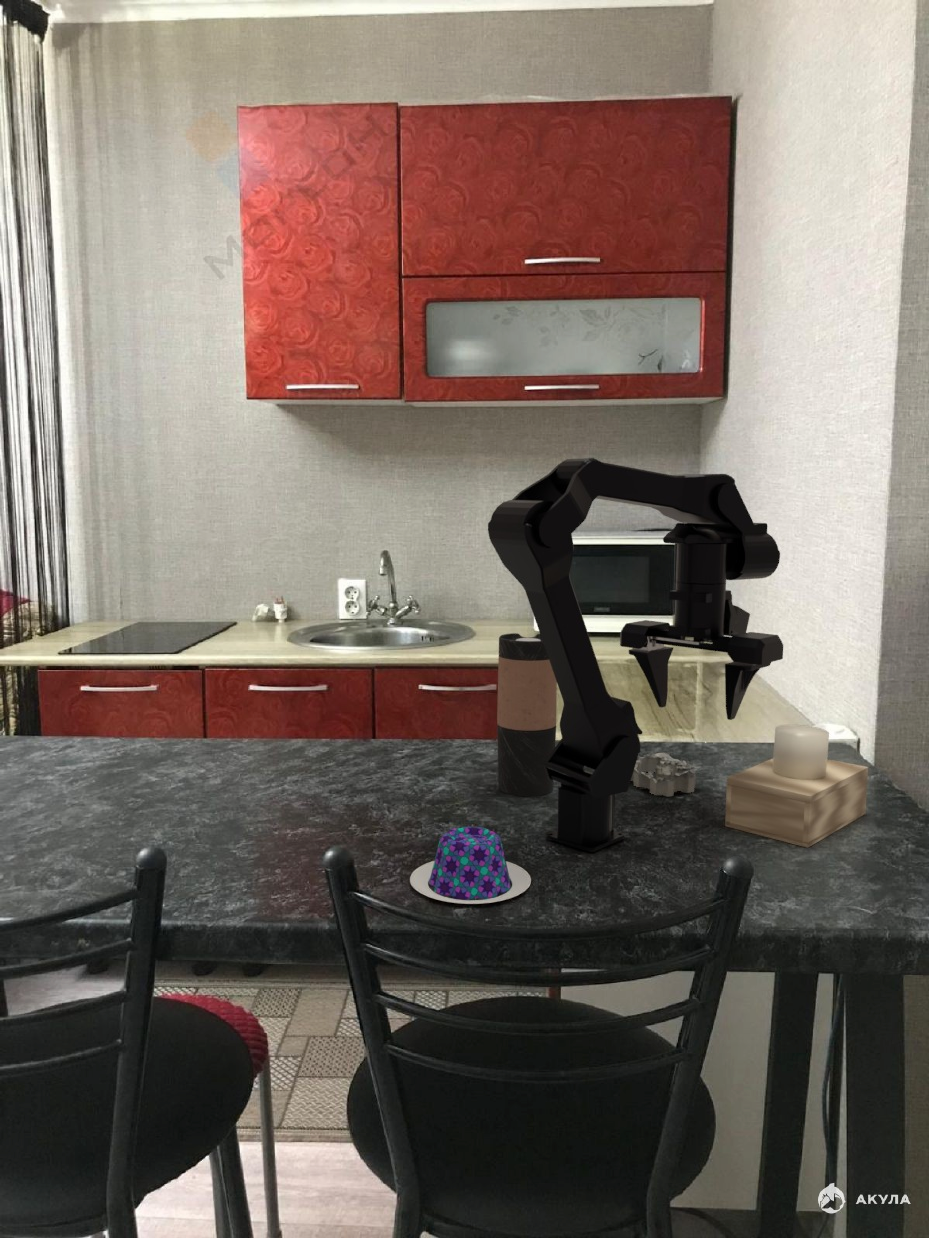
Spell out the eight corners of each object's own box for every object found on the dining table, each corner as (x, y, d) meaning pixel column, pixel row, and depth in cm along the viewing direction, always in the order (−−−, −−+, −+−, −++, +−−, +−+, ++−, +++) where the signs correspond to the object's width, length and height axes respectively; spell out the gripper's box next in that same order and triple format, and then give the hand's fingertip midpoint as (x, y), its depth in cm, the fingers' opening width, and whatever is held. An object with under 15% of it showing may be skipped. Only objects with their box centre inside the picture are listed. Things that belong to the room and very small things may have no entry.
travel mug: (525, 801, 124) (527, 643, 121) (484, 787, 130) (485, 636, 127) (567, 789, 129) (570, 637, 126) (525, 776, 135) (528, 630, 132)
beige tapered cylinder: (812, 782, 113) (815, 739, 112) (763, 771, 117) (765, 730, 116) (834, 772, 117) (837, 731, 116) (786, 762, 121) (789, 722, 120)
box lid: (810, 803, 108) (810, 796, 108) (726, 784, 115) (727, 777, 114) (867, 773, 119) (868, 767, 119) (789, 757, 126) (789, 751, 126)
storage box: (807, 847, 108) (810, 803, 108) (725, 826, 115) (726, 784, 115) (865, 813, 120) (867, 773, 119) (787, 795, 127) (789, 758, 126)
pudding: (549, 902, 94) (550, 849, 94) (428, 918, 91) (428, 863, 90) (506, 857, 106) (506, 810, 105) (396, 870, 102) (396, 821, 101)
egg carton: (611, 778, 135) (611, 749, 135) (656, 772, 138) (657, 744, 138) (656, 800, 125) (657, 768, 125) (704, 793, 128) (705, 762, 128)
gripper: (807, 583, 115) (800, 714, 117) (668, 573, 128) (664, 691, 130) (762, 590, 107) (756, 730, 109) (619, 578, 120) (615, 704, 122)
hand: (695, 712), depth 118 cm, fingers open, 9 cm apart
